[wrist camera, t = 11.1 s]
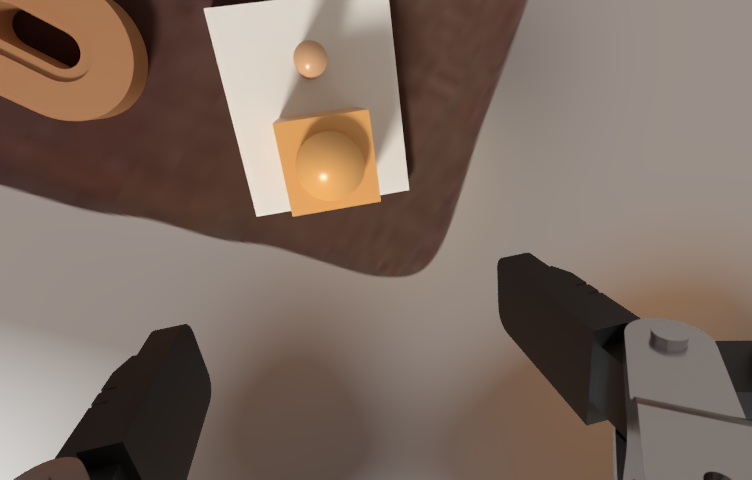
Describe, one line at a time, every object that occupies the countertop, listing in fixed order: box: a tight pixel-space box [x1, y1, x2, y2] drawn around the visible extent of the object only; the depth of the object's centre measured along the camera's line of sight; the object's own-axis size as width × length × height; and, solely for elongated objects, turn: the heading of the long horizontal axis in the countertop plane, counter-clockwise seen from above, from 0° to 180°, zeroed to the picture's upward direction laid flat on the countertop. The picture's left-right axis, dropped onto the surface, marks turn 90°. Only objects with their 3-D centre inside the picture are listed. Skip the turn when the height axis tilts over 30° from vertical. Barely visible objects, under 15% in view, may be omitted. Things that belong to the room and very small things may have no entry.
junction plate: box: [204, 0, 409, 217], centre depth 27 cm, size 12×14×6 cm
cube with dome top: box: [273, 107, 381, 217], centre depth 26 cm, size 6×6×7 cm
